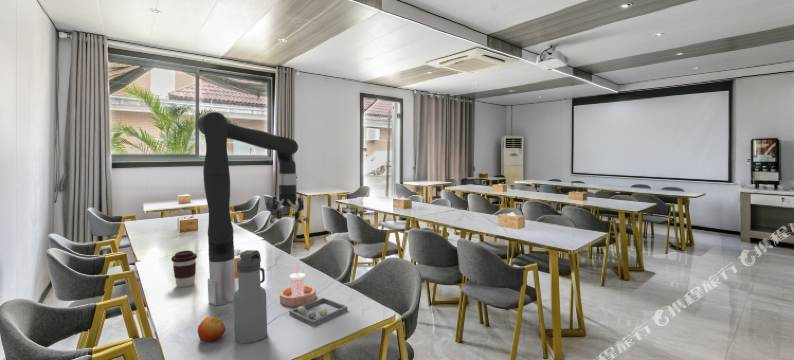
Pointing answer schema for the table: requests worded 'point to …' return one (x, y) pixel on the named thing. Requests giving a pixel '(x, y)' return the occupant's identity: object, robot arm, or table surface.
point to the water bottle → (250, 299)
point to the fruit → (211, 329)
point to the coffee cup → (184, 268)
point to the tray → (321, 319)
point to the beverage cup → (297, 283)
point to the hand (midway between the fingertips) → (288, 219)
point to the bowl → (300, 300)
